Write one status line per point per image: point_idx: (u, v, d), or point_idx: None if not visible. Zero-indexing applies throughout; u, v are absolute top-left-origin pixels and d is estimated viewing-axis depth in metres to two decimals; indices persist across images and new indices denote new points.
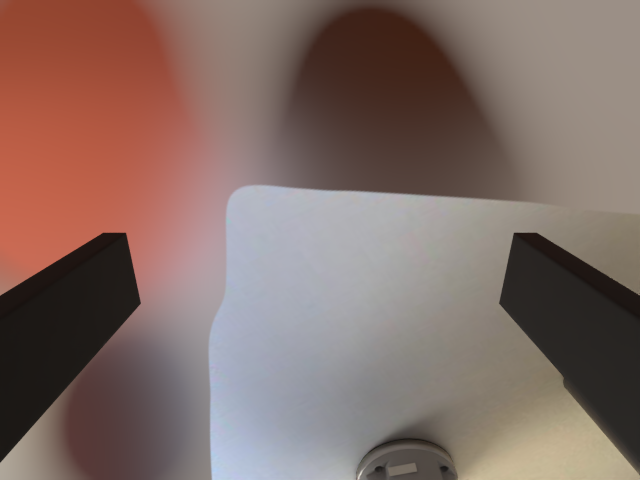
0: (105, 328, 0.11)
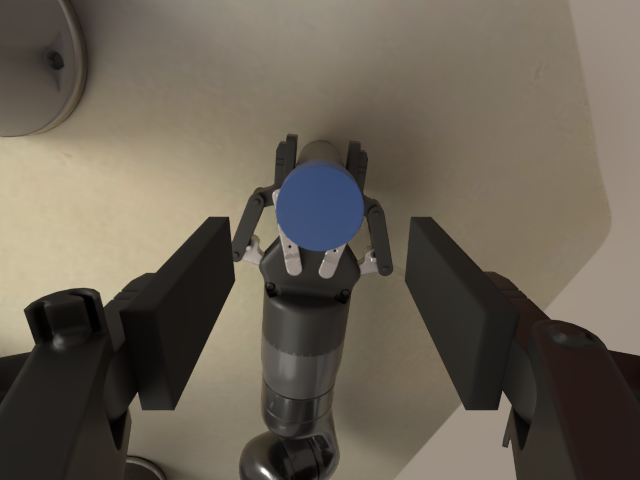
0: (221, 298, 0.12)
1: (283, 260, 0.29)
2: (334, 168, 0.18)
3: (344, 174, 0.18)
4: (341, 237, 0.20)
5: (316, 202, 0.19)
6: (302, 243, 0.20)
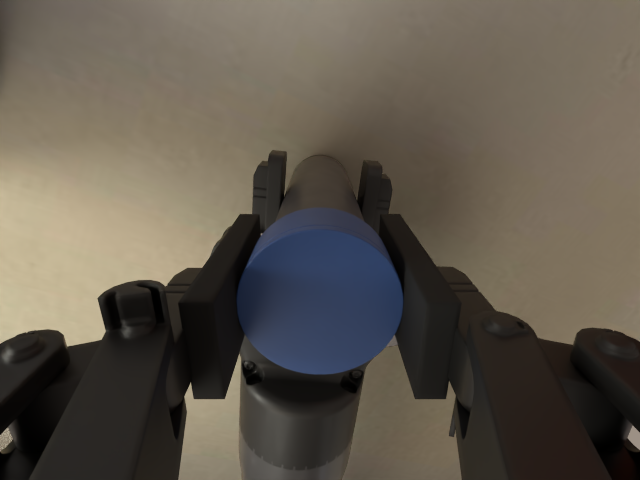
0: None
1: None
2: (348, 233, 0.09)
3: (367, 244, 0.09)
4: (359, 352, 0.11)
5: (313, 294, 0.10)
6: (287, 362, 0.11)
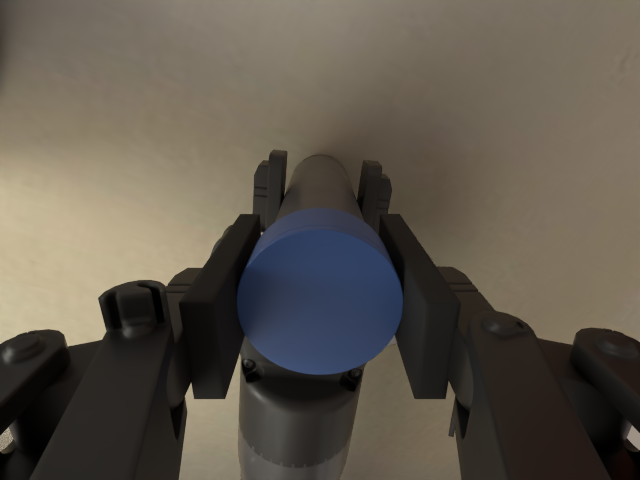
0: None
1: None
2: (237, 305, 0.10)
3: (239, 288, 0.10)
4: (361, 256, 0.09)
5: (306, 318, 0.10)
6: (392, 319, 0.10)
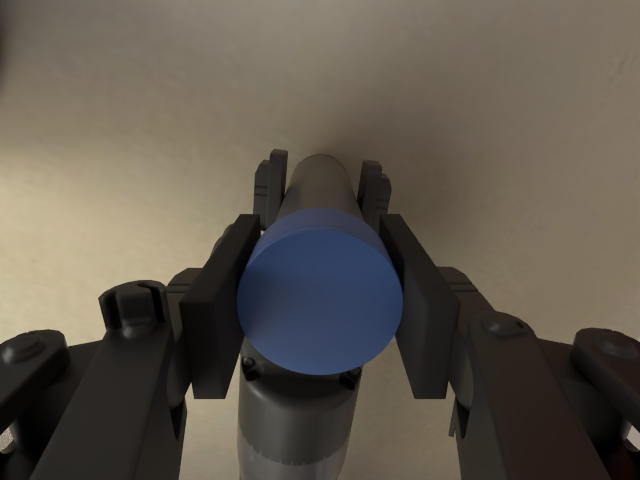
0: None
1: None
2: (341, 369, 0.11)
3: (322, 373, 0.11)
4: (253, 290, 0.10)
5: (334, 316, 0.10)
6: (308, 239, 0.09)
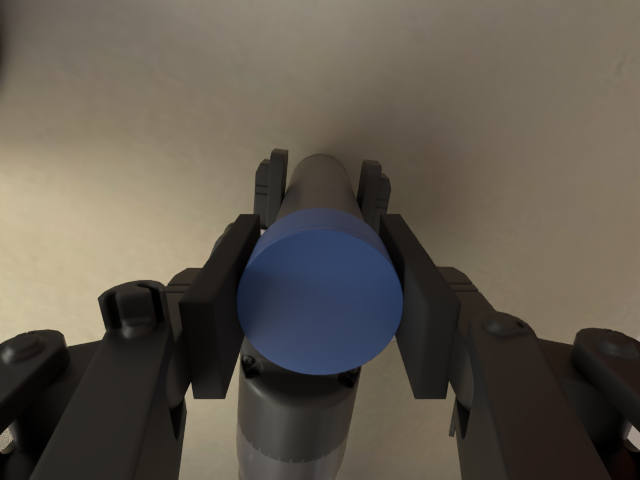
0: None
1: None
2: (391, 265, 0.10)
3: (398, 284, 0.10)
4: (319, 363, 0.11)
5: (324, 294, 0.10)
6: (254, 335, 0.10)
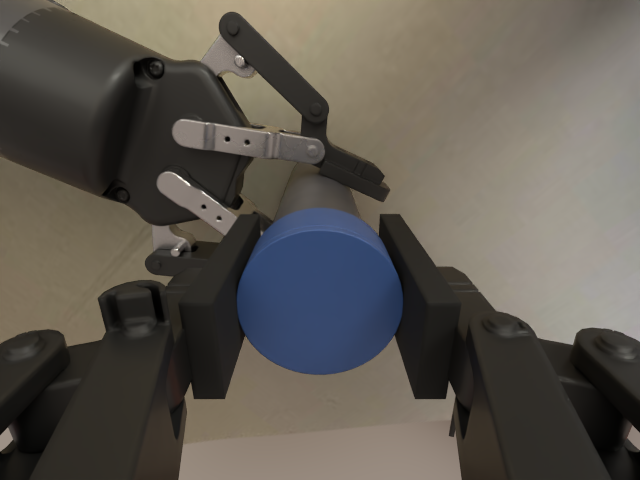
0: None
1: (202, 114, 0.17)
2: (391, 265, 0.10)
3: (398, 284, 0.10)
4: (319, 363, 0.11)
5: (324, 294, 0.10)
6: (254, 335, 0.10)
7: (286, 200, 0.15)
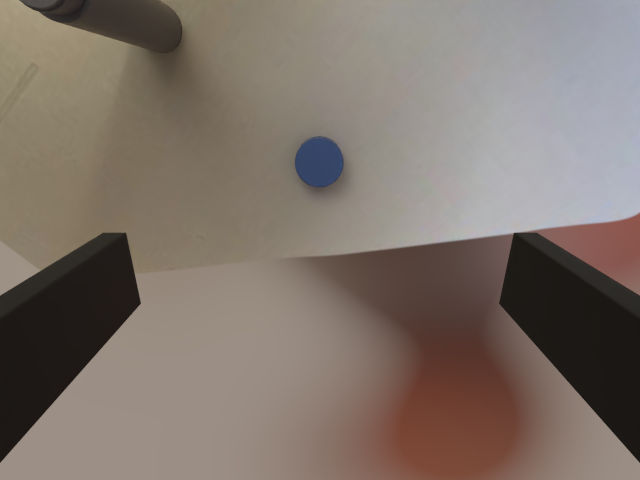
0: (105, 328, 0.11)
1: None
2: (339, 149, 0.35)
3: (341, 155, 0.35)
4: (319, 182, 0.36)
5: (320, 158, 0.35)
6: (299, 172, 0.35)
7: None
